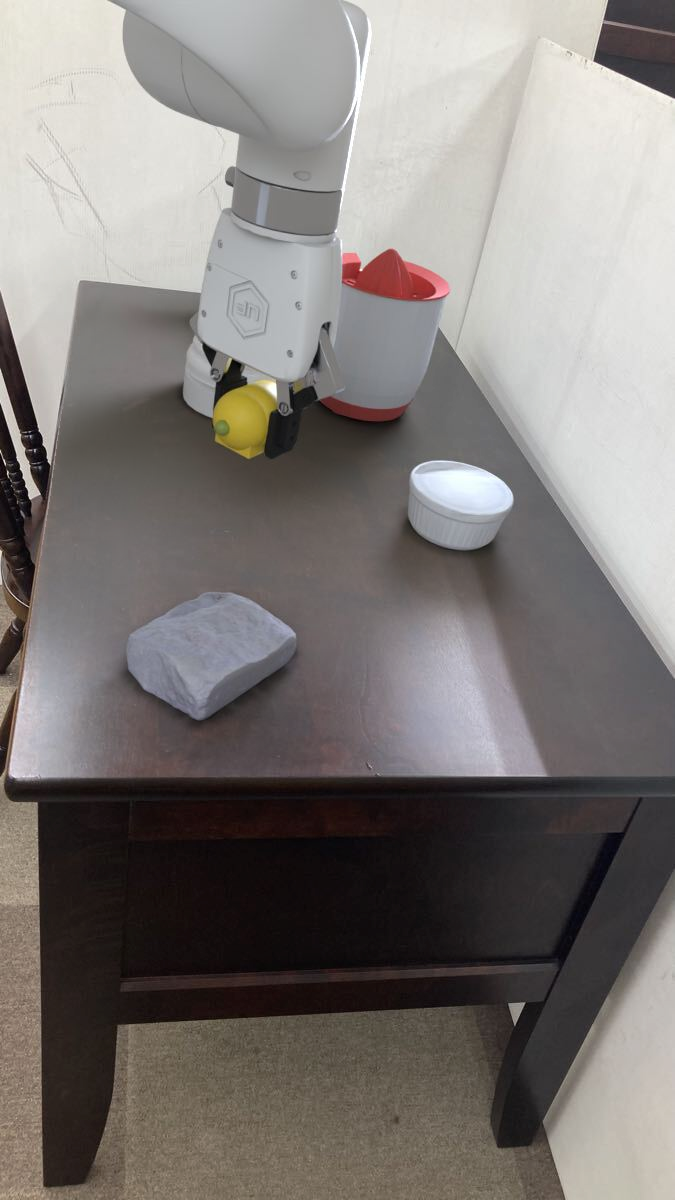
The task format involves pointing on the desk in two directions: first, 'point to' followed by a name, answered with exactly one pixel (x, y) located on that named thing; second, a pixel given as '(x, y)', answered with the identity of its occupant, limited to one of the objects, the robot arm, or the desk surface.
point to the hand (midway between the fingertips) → (252, 437)
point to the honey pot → (206, 379)
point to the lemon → (245, 417)
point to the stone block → (208, 652)
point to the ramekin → (457, 504)
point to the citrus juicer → (384, 334)
